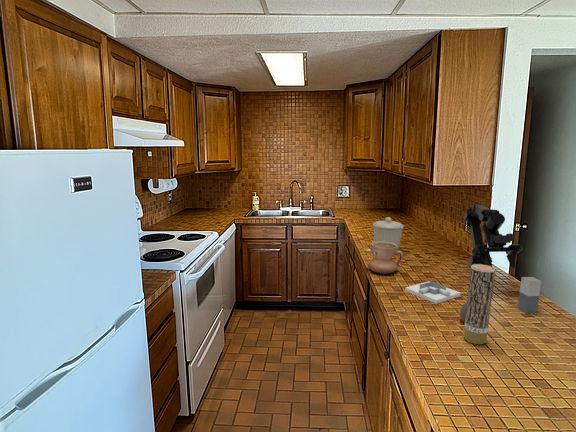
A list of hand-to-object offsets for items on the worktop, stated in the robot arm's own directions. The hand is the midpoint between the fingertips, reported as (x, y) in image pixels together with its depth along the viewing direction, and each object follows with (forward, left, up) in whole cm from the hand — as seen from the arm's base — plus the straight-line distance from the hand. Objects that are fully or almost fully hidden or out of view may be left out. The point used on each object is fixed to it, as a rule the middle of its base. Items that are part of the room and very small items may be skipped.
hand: (502, 268), depth 158 cm
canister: (-45, -62, -13) cm, 78 cm away
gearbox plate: (+10, -25, -13) cm, 30 cm away
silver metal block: (+8, +10, -13) cm, 18 cm away
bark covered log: (+45, -5, -13) cm, 47 cm away
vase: (+32, -8, -13) cm, 36 cm away
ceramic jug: (-7, -52, -13) cm, 54 cm away
